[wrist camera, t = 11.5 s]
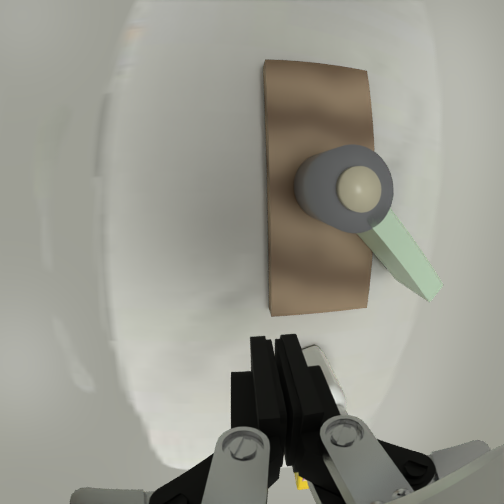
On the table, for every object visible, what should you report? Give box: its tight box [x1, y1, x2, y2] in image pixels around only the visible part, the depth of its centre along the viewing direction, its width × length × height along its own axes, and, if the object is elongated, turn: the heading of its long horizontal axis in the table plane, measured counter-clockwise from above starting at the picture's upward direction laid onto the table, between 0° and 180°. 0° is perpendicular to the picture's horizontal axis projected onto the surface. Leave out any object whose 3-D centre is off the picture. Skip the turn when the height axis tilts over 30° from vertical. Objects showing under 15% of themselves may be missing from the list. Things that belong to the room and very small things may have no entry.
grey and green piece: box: [294, 145, 443, 302], centre depth 21 cm, size 15×6×7 cm, turn 48°
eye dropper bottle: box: [302, 346, 348, 415], centre depth 24 cm, size 4×6×12 cm
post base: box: [263, 60, 374, 317], centre depth 24 cm, size 24×10×2 cm, turn 2°
